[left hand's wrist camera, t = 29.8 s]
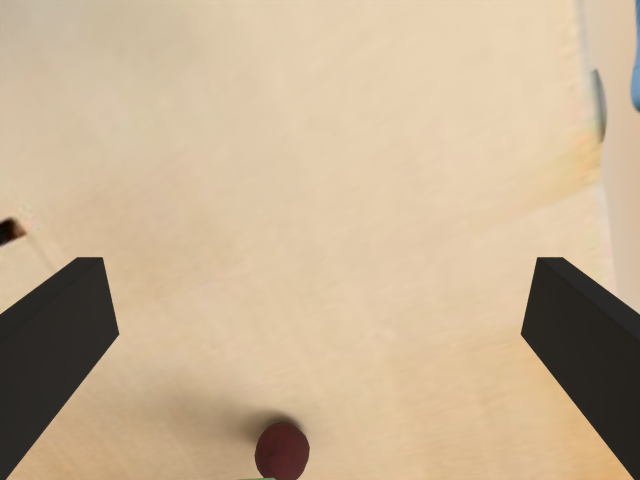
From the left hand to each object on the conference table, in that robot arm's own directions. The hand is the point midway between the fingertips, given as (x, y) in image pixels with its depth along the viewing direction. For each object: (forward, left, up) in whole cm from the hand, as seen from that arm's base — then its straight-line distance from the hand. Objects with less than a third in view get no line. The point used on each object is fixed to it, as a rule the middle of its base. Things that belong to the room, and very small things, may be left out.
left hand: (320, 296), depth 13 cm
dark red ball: (+41, +5, -34) cm, 53 cm away
